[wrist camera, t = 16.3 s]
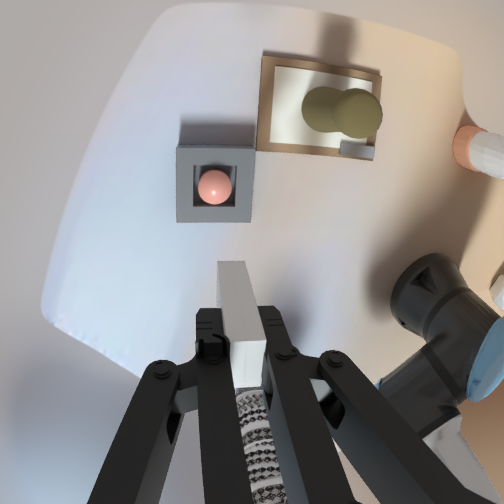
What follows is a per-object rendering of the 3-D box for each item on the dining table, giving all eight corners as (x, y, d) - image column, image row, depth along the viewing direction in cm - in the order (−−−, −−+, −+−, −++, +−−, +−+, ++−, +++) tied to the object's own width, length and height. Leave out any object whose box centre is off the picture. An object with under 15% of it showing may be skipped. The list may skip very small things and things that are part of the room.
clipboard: (379, 76, 36) (384, 76, 35) (370, 159, 41) (374, 161, 40) (261, 56, 34) (263, 55, 33) (255, 150, 39) (257, 151, 38)
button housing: (251, 146, 39) (255, 149, 36) (247, 214, 42) (250, 222, 40) (178, 144, 37) (176, 148, 35) (178, 214, 41) (176, 222, 38)
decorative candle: (266, 381, 57) (297, 501, 35) (283, 405, 61) (313, 511, 39) (223, 398, 58) (239, 515, 36) (243, 419, 62) (262, 525, 40)
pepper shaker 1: (307, 80, 35) (344, 74, 25) (351, 94, 36) (397, 95, 26) (296, 126, 37) (329, 135, 28) (340, 138, 39) (383, 152, 29)
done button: (230, 168, 38) (232, 172, 36) (229, 198, 40) (231, 204, 37) (198, 167, 37) (198, 172, 35) (198, 198, 39) (198, 204, 37)
